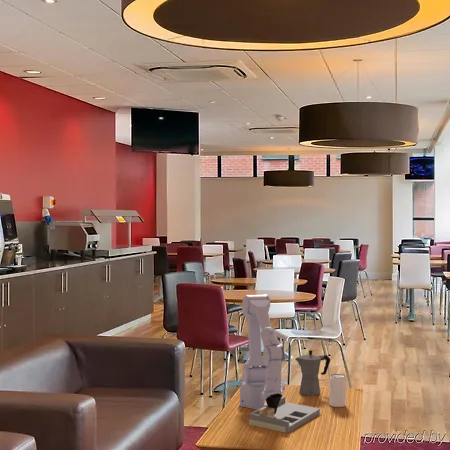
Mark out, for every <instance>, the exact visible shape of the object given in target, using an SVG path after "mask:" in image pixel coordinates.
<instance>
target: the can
mask: <svg viewBox="0 0 450 450" xmlns="http://www.w3.org/2000/svg"><path fill="white" fill-rule="evenodd" d="M328 395H329V399H328V401H329V403H328V404H329V405H330V407H333V408H344V407H345V406H346V405H347V402H346V401H347V379H346V374H343V373H332V374H330V378H329V394H328Z"/></svg>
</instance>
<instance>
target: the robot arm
mask: <svg viewBox="0 0 450 450" xmlns="http://www.w3.org/2000/svg"><path fill="white" fill-rule="evenodd" d="M241 304H242V314H243V317H246V321H247V336H248V354H249V359H247V360H246V361H245V362H244V363H243V365H242V373H241V375H242V376H241V377H242V380H243V382H242V383H241V384H240V389H239V404H238V407H243V408H249V409H252V410H257V409H259V408H261V407H263V406H265V405H268V407H269V408H274V414H276V411H277V408H278V404H279V402H280V399H281V398H282V397H283V394H284V391H285V390H286V384H282V361H283V360H284V358H285V348H284V346H283V344H282V343H281V342H280V341H279V339H278V335H277V332H276V329H275V328H273V327H272V325H271V320H270V315H269V311H270V307H271V298H270V296H269V295H268V294H266V293H265V294H245V295H244V296H243V297H242V302H241ZM262 345H263V347H264V348H263V353H262ZM262 354H263V357H262ZM263 358H264V359H263Z"/></svg>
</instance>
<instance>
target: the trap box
mask: <svg viewBox="0 0 450 450" xmlns="http://www.w3.org/2000/svg"><path fill="white" fill-rule="evenodd" d="M263 407H268V405H265V406H263ZM263 407H261V408H263ZM261 408H259V409H261ZM259 409H257V410H256V409H254V410H253V411H252V412H249V413H248V414H249V415H248V425H249V426H254V427H259V428H262V429H263V428H264V429H267V430H272V431H276V432H281V433H286V434H290V433H291V432H292V431H294V430H296V429H298V428H299V427H301V426H302V425H304V424H305V423H307V422H309V421H311V420H313V419H314V418H315V417H317V416H319V415H320V414H321V408H318V407H312V406H309V405H308V406H307V405H303V404H298V403H293V402H288V401H286V396H282V398H281V399H280V402H279V404H278V408H277V411H276V414H274V418H272V417H267V416H262V415H259Z"/></svg>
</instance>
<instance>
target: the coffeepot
mask: <svg viewBox="0 0 450 450" xmlns="http://www.w3.org/2000/svg"><path fill="white" fill-rule="evenodd" d="M324 360H325V364H324V368H323V371H322V372H320V366H321V361H324ZM295 361H296V362H297V363H298V365H299V367H300V371H301V380H300V387H299V394H301V395H304V396H310V397H311V396H313V397H314V396H319V395H320V393H321V388H320V380H319V374H320V375H322V376H324V375H326V374H327V371H328V368H329V366H330V364H331V358H330V357H329V355H326V354H324V355H316V354H313V350H311V349H310V350H308V354H303V355H300V356H297V357H296V358H295Z"/></svg>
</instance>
